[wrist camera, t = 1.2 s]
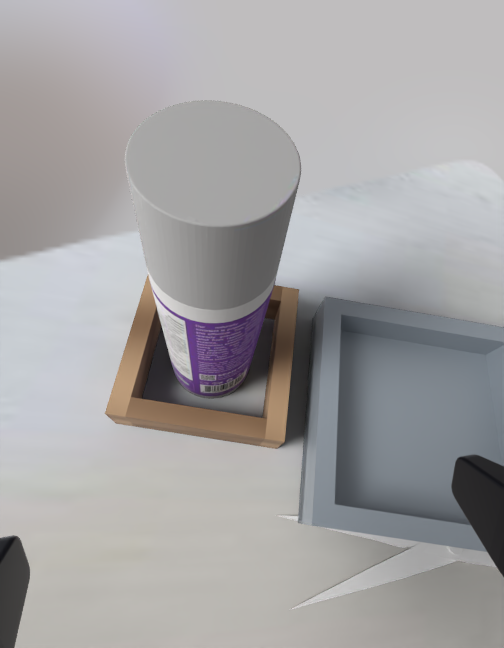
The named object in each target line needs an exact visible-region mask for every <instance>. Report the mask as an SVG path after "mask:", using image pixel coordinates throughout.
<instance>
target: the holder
mask: <svg viewBox="0 0 504 648" xmlns="http://www.w3.org/2000/svg"><path fill="white" fill-rule="evenodd" d="M298 295H299V289H293V288H287V287H282V286H276V285H274V288H273V291H272V294H271V298H270V301H269V304H268V308H267V311H266V314H265V318H268V319H274V328H273V336H272V344H271V352H270V360H269V369H268V377H267V385H266V393H265V401H264V409H263V417H262V418H259V417H253V416H246V415H240V414H234V413H228V412H221V411H215V410H209V409H203V408H197V407H190V406H184V405H178V404H172V403H165V402H159V401H153V400H147V399H142V395H143V392H144V388H145V384H146V381H147V377H148V373H149V370H150V366H151V362H152V359H153V355H154V351H155V347H156V344H157V340H158V336H159V333H160V329H161V322H160V318H159V314H158V310H157V307H156V303H155V299H154V295H153V292H152V288H151V284H150V280H149V275H148V276H147V279H146V282H145V285H144V289H143V292H142V295H141V298H140V302H139V305H138V308H137V311H136V315H135V318H134V321H133V324H132V327H131V331H130V334H129V337H128V340H127V344H126V347H125V350H124V353H123V357H122V360H121V363H120V366H119V370H118V373H117V376H116V379H115V382H114V386H113V389H112V392H111V395H110V399H109V402H108V405H107V408H106V412H105V414H106V415H107V416H108V417H109V418H111V419H112V420H113V421H114V422H115V423H117V424H123V425H130V426H136V427H142V428H149V429H155V430H161V431H168V432H174V433H180V434H187V435H193V436H199V437H206V438H212V439H218V440H225V441H231V442H237V443H244V444H250V445H256V446H263V447H269V448H275V449H277V448H278V447H279V446H280V445H282V444H283V443H284V442H285V432H286V422H287V411H288V401H289V390H290V379H291V369H292V358H293V348H294V337H295V326H296V316H297V305H298Z"/></svg>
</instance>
